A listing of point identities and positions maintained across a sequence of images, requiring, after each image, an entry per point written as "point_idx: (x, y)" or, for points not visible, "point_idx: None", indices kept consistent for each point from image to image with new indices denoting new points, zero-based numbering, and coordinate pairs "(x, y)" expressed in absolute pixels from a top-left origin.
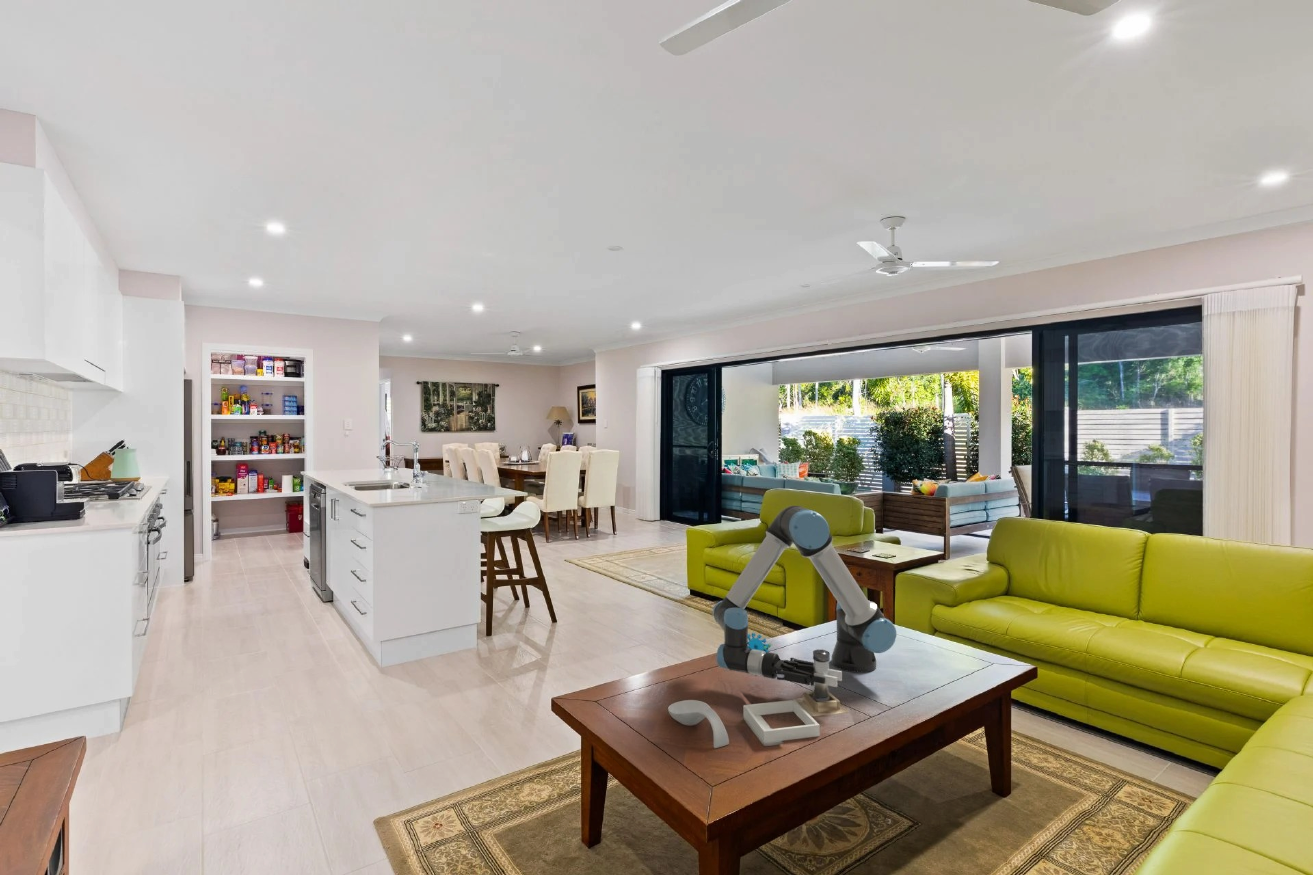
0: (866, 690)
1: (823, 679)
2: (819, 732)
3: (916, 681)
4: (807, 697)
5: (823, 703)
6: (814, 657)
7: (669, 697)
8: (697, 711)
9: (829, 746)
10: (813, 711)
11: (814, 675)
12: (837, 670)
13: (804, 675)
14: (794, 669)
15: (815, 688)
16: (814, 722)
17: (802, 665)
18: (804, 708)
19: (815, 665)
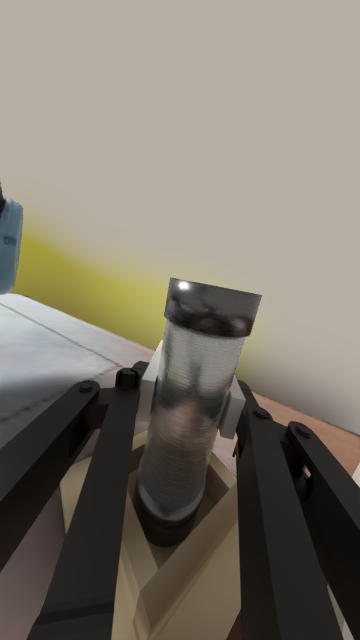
0: (23, 387)
1: (244, 384)
2: (356, 470)
3: (9, 334)
4: (200, 561)
5: (219, 461)
6: (251, 320)
7: None
8: None
9: (342, 457)
10: (236, 529)
11: (216, 419)
12: (159, 345)
13: (319, 453)
14: (318, 627)
15: (207, 465)
16: None
17: (123, 506)
18: (240, 600)
19: (236, 363)
